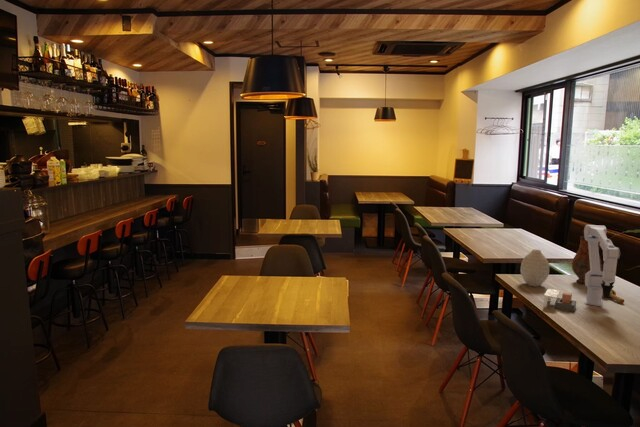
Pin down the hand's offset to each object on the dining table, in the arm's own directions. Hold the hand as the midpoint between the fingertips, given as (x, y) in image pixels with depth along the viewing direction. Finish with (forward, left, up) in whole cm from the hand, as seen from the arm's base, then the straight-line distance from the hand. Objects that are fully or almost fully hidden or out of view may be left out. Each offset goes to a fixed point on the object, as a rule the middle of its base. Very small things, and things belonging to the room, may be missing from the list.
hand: (606, 295), depth 248 cm
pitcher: (-55, -13, -10) cm, 57 cm away
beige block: (+4, -25, -9) cm, 27 cm away
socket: (+4, -18, -9) cm, 21 cm away
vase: (-31, -40, -10) cm, 52 cm away
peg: (+4, -18, -9) cm, 20 cm away
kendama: (-30, +1, -10) cm, 31 cm away
